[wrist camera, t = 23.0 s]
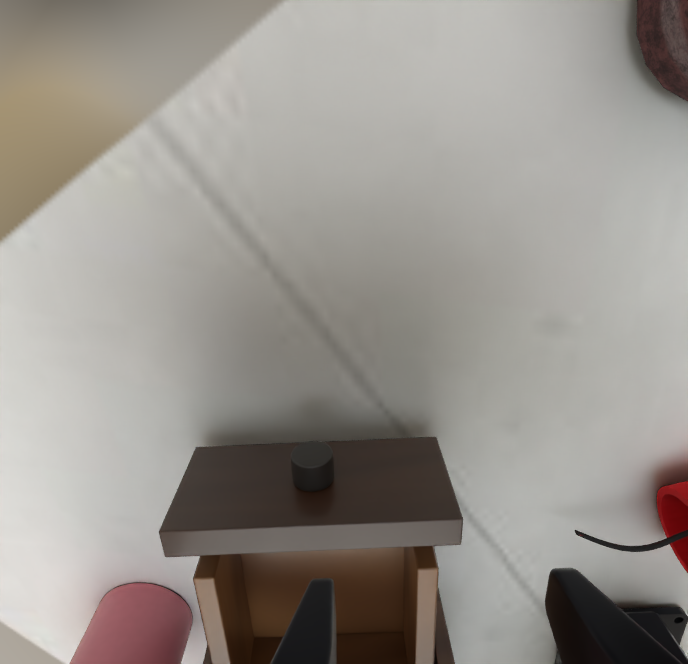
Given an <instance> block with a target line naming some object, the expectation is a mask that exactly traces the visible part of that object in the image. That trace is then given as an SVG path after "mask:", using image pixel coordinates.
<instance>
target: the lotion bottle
mask: <svg viewBox="0 0 688 664" xmlns="http://www.w3.org/2000/svg"><path fill="white" fill-rule="evenodd" d="M191 626H192V613H191V610H190V608H189V606H188V605H187V604H186V602H185V601H184V600H183V599H182V598H181V597H180V596H178V595H177V594H176V593H174V592H172V591H170V590H168V589H166V588H164V587H161V586H158V585H153V584H147V583H131V584H126V585H122V586H119V587H117V588H114V589H113V590H111V591H109V592H108V593H107V594H106V595H105V596H104V597H103V598H102V600H101V602H100V603H99V605H98V607H97V609H96V611H95V613H94V615H93V617H92V619H91V621H90V624H89V626H88V628H87V630H86V632H85V634H84V636H83V638H82V640H81V642H80V644H79V646H78V648H77V650H76V652H75V654H74V656H73V658H72V660H71V662H70V664H181V661H182V657H183V654H184V650H185V647H186V644H187V640H188V637H189V633H190V630H191Z"/></svg>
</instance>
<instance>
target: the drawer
mask: <svg viewBox="0 0 688 664" xmlns="http://www.w3.org/2000/svg"><path fill="white" fill-rule="evenodd" d="M462 526H463V517H462V514H461V511H460V508H459V505H458V502H457V499H456V496H455V493H454V490H453V487H452V484H451V481H450V477H449V474H448V471H447V468H446V465H445V462H444V459H443V456H442V453H441V450H440V447H439V444H438V441H437V438H436V437H419V438H396V439H372V440H349V441H325V442H319V441H309V442H302V443H279V444H255V445H232V446H208V447H196V448H195V451H194V453H193V455H192V458H191V460H190V462H189V464H188V467H187V469H186V471H185V474H184V476H183V478H182V480H181V483H180V485H179V487H178V489H177V492H176V494H175V496H174V499H173V501H172V503H171V505H170V508H169V510H168V512H167V515H166V517H165V519H164V521H163V524H162V526H161V528H160V530H159V534H160V538H161V542H162V546H163V550H164V554H165V557H181V556H200V559H199V562H198V565H197V568H196V571H195V574H194V578H193V581H194V585H195V590H196V594H197V599H198V603H199V608H200V612H201V617H202V621H203V626H204V630H205V635H206V639H207V644H208V648H209V653H210V657H211V662H212V664H270V663H271V661H272V659H273V657H274V655H275V653H276V651H277V649H278V647H279V645H280V643H281V641H282V639H283V636H284V634H285V632H286V630H287V628H288V626H289V624H290V622H291V620H292V618H293V616H294V614H295V612H296V609H297V607H298V605H299V603H300V601H301V599H302V597H303V595H304V593H305V591H306V589H307V587H308V585H309V583H310V581H311V580H312V579H317V578H331V579H333V581H334V590H335V605H336V640H337V664H434V652H435V631H436V611H437V590H438V570H439V568H438V564H437V559H436V555H435V551H434V547H433V546H441V545H460V544H461V540H462Z"/></svg>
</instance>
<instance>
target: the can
mask: <svg viewBox="0 0 688 664" xmlns="http://www.w3.org/2000/svg"><path fill="white" fill-rule="evenodd" d="M637 37H638V40H639V44H640V47H641V50H642V54H643V57H644V60H645V63H646V65H647V67H648V68H649V69H650V71H651V72H652V73H653V75H654V76H655V77H656V78H657V80H658V81H659V82H660V84H661V85H662V86H663V87H664V88H665V89H667V90H669V91H671V92H672V93H674V94H676V95H677V96H679V97H681V98H683V99H684V100H686V101H688V0H637Z"/></svg>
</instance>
